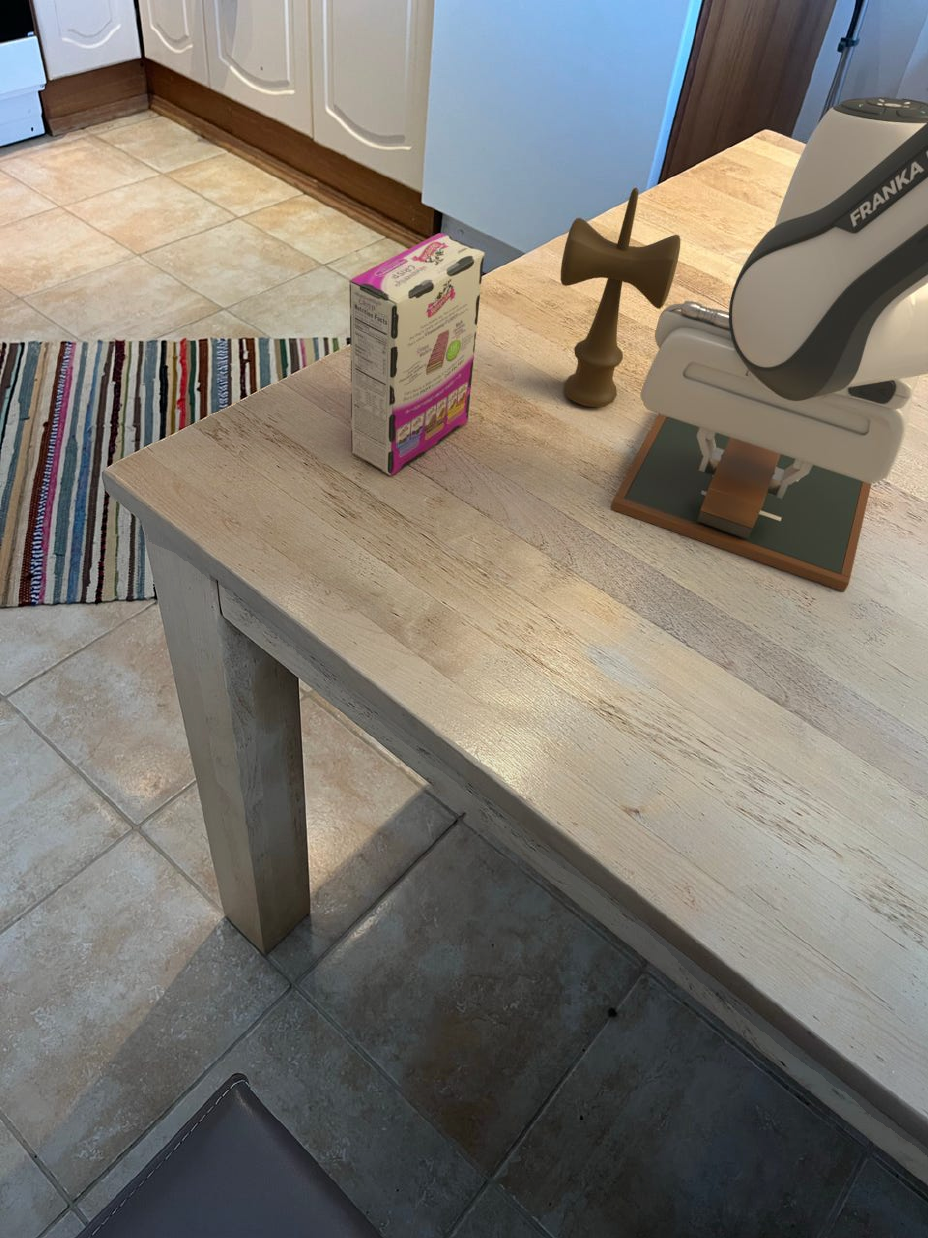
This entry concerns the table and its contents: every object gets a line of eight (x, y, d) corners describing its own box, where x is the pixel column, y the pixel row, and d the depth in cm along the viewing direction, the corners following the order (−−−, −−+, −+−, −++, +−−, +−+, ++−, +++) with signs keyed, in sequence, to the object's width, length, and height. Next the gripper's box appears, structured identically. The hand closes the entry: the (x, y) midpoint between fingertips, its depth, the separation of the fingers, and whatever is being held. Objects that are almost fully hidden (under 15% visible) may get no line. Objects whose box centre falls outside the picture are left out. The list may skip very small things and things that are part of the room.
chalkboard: (869, 482, 87) (874, 472, 86) (844, 592, 76) (849, 583, 75) (660, 413, 91) (663, 404, 90) (610, 509, 80) (612, 499, 80)
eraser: (771, 472, 84) (785, 439, 81) (747, 539, 77) (762, 506, 75) (723, 456, 85) (736, 423, 82) (695, 521, 78) (708, 487, 76)
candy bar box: (426, 400, 88) (439, 229, 76) (469, 423, 87) (489, 251, 75) (345, 453, 82) (346, 275, 70) (389, 479, 80) (398, 301, 68)
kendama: (634, 424, 89) (691, 214, 74) (534, 401, 90) (571, 190, 75) (641, 390, 93) (697, 185, 78) (546, 369, 94) (584, 162, 79)
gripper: (654, 312, 70) (614, 461, 80) (935, 398, 66) (855, 544, 76) (676, 276, 74) (635, 422, 84) (942, 356, 70) (865, 499, 80)
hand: (741, 481), depth 80 cm, fingers closed on eraser, 4 cm apart
